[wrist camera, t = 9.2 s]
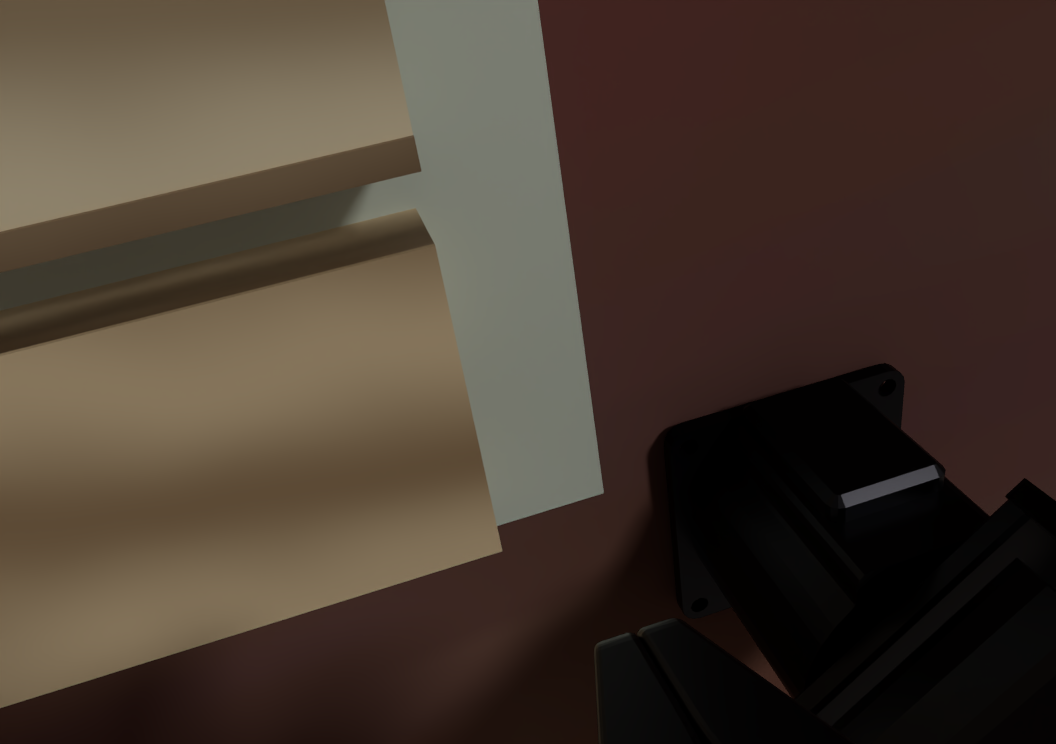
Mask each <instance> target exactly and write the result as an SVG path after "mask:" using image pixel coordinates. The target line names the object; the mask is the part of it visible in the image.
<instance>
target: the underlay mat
mask: <svg viewBox="0 0 1056 744" xmlns="http://www.w3.org/2000/svg"><path fill="white" fill-rule="evenodd" d="M385 5H386V9H387V14H388V19H389V23H390V28H391V33H392V37H393V42H394V47H395V52H396V56H397V61H398V66H399V70H400V75H401V80H402V84H403V89H404V94H405V98H406V103H407V108H408V112H409V117H410V122H411V127H412V131H413V135H414V138H415V143H416V147H417V152H418V157H419V161H420V166H421V172H417V173H413V174H409V175H405V176H400V177H396V178H392V179H388V180H384V181H380V182H376V183H371V184H367V185H363V186H359V187H355V188H351V189H346V190H342V191H338V192H334V193H330V194H326V195H321V196H317V197H313V198H309V199H305V200H301V201H297V202H292V203H288V204H284V205H280V206H276V207H272V208H267V209H263V210H259V211H255V212H251V213H247V214H242V215H238V216H234V217H230V218H226V219H222V220H218V221H213V222H209V223H205V224H201V225H197V226H193V227H188V228H184V229H180V230H176V231H172V232H168V233H164V234H159V235H155V236H151V237H147V238H143V239H139V240H134V241H130V242H126V243H122V244H118V245H114V246H109V247H105V248H101V249H97V250H93V251H89V252H85V253H80V254H76V255H72V256H68V257H64V258H60V259H55V260H51V261H47V262H43V263H39V264H35V265H31V266H26V267H22V268H18V269H14V270H10V271H6V272H1V273H0V311H1V310H5V309H9V308H13V307H17V306H21V305H25V304H29V303H33V302H37V301H41V300H45V299H49V298H53V297H57V296H61V295H65V294H70V293H74V292H78V291H82V290H86V289H90V288H94V287H98V286H102V285H106V284H110V283H114V282H118V281H122V280H126V279H130V278H134V277H138V276H142V275H146V274H151V273H155V272H159V271H163V270H167V269H171V268H175V267H179V266H183V265H187V264H191V263H195V262H199V261H203V260H207V259H211V258H215V257H219V256H223V255H228V254H232V253H236V252H240V251H244V250H248V249H252V248H256V247H260V246H264V245H268V244H272V243H276V242H280V241H284V240H288V239H292V238H296V237H300V236H304V235H309V234H313V233H317V232H321V231H325V230H329V229H333V228H337V227H341V226H345V225H349V224H353V223H357V222H361V221H365V220H369V219H373V218H377V217H381V216H386V215H390V214H394V213H398V212H402V211H406V210H410V209H414V208H416V210H417V212H418V213H419V215H420V217H421V219H422V221H423V223H424V225H425V227H426V229H427V231H428V233H429V234H430V236H431V238H432V240H433V242H434V244H435V246H436V251H437V255H438V260H439V265H440V269H441V274H442V278H443V283H444V287H445V292H446V296H447V301H448V306H449V310H450V315H451V319H452V324H453V328H454V333H455V337H456V342H457V347H458V351H459V356H460V360H461V365H462V369H463V374H464V379H465V383H466V388H467V392H468V397H469V401H470V406H471V410H472V415H473V420H474V424H475V429H476V433H477V438H478V442H479V447H480V451H481V456H482V461H483V465H484V470H485V474H486V479H487V483H488V488H489V493H490V497H491V502H492V506H493V511H494V515H495V520H496V524H497V526H498V525H502V524H505V523H508V522H511V521H515V520H518V519H521V518H524V517H528V516H531V515H534V514H537V513H541V512H544V511H547V510H550V509H554V508H557V507H560V506H563V505H567V504H570V503H573V502H576V501H580V500H583V499H586V498H589V497H593V496H596V495H599V494H602V493H604V491H603V484H602V476H601V469H600V462H599V454H598V447H597V439H596V432H595V424H594V417H593V409H592V402H591V395H590V387H589V380H588V372H587V365H586V357H585V350H584V342H583V335H582V328H581V320H580V313H579V305H578V298H577V290H576V283H575V275H574V268H573V261H572V253H571V246H570V238H569V231H568V223H567V216H566V208H565V201H564V194H563V186H562V179H561V171H560V164H559V156H558V149H557V141H556V134H555V127H554V119H553V112H552V104H551V97H550V89H549V82H548V74H547V67H546V60H545V52H544V45H543V37H542V30H541V22H540V15H539V7H538V0H385Z"/></svg>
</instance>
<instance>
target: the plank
mask: <svg viewBox="0 0 1056 744" xmlns="http://www.w3.org/2000/svg"><path fill="white" fill-rule="evenodd" d="M417 172H421V166H420V161H419V157H418V152H417V147H416V143H415V138H414V135H413V131H412V127H411V122H410V117H409V112H408V108H407V103H406V98H405V94H404V89H403V84H402V80H401V75H400V70H399V66H398V61H397V56H396V52H395V47H394V42H393V37H392V33H391V28H390V23H389V19H388V14H387V9H386V5H385V0H0V273H1V272H6V271H10V270H14V269H18V268H22V267H26V266H31V265H35V264H39V263H43V262H47V261H51V260H55V259H60V258H64V257H68V256H72V255H76V254H80V253H85V252H89V251H93V250H97V249H101V248H105V247H109V246H114V245H118V244H122V243H126V242H130V241H134V240H139V239H143V238H147V237H151V236H155V235H159V234H164V233H168V232H172V231H176V230H180V229H184V228H188V227H193V226H197V225H201V224H205V223H209V222H213V221H218V220H222V219H226V218H230V217H234V216H238V215H242V214H247V213H251V212H255V211H259V210H263V209H267V208H272V207H276V206H280V205H284V204H288V203H292V202H297V201H301V200H305V199H309V198H313V197H317V196H321V195H326V194H330V193H334V192H338V191H342V190H346V189H351V188H355V187H359V186H363V185H367V184H371V183H376V182H380V181H384V180H388V179H392V178H396V177H400V176H405V175H409V174H413V173H417Z"/></svg>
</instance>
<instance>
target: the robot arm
mask: <svg viewBox="0 0 1056 744" xmlns="http://www.w3.org/2000/svg"><path fill="white" fill-rule="evenodd" d="M884 381H886V382H885V383H884V384H883V386H881V387H880V385H881V384H882V383H883V382H884ZM904 383H905V382H904V376H903V375H902V374H901V373H900V372H899V371H898V370H896V369H895V368H894V367H893V366H891V365H889V364H886V363H884V364H878V365H874V366H871V367H868V368H864V369H861V370H858V371H854V372H851V373H848V374H844V375H841V376H838V377H834V378H831V379H828V380H824V381H821V382H817V383H814V384H811V385H807V386H804V387H801V388H797V389H794V390H791V391H787V392H784V393H781V394H777V395H774V396H771V397H767V398H764V399H761V400H757V401H754V402H751V403H747V404H744V405H741V406H737V407H734V408H731V409H727V410H724V411H721V412H717V413H714V414H711V415H707V416H704V417H700V418H697V419H694V420H690V421H687V422H684V423H681V424H679V425H676V426H674V427H673V428H672V429H671V430H670V431H669V432H668V433H667V435H666V437H665V439H664V454H665V466H666V477H667V489H668V500H669V512H670V523H671V535H672V547H673V558H674V570H675V581H676V593H677V601H678V604H679V606H680V608H681V609H682V611H683V613H684V615H686V616H687V617H688V618H693V619H695V618H701V617H704V616H707V615H710V614H713V613H715V612H718V611H721V610H724V609H727V608H730V607H732V608H733V610H734V611H735V613H736V614H737V616H738V617H739V619H740V620H741V622H742V623H743V625H744V626H745V628H746V629H747V631H748V632H749V634H750V635H751V637H752V638H753V640H754V641H755V643H756V644H757V646H758V647H759V649H760V650H761V652H762V653H763V655H764V656H765V658H766V659H767V661H768V662H769V664H770V665H771V667H772V669H773V670H774V672H775V673H776V675H777V676H778V678H779V679H780V681H781V682H782V684H783V685H784V687H785V688H786V690H787V691H788V693H789V694H790V696H791V697H792V698H791V697H790V696H788V695H787V694H785V693H784V692H782V691H781V690H780V689H778V688H777V687H775V686H774V685H773V684H771V683H770V682H768V681H767V680H766V679H764V678H763V677H761V676H760V675H759V674H757V673H756V672H754V671H753V670H752V669H750V668H749V667H747V666H746V665H745V664H743V663H742V662H740V661H739V660H738V659H736V658H735V657H733V656H732V655H731V654H729V653H728V652H726V651H725V650H723V649H722V648H721V647H719V646H718V645H716V644H715V643H714V642H712V641H711V640H709V639H708V638H707V637H705V636H704V635H702V634H701V633H700V632H698V631H697V630H695V629H694V628H693V627H691V626H690V625H688V624H687V623H686V622H684V621H682V620H680V619H676V618H671V619H667V620H664V621H661V622H658V623H655V624H652V625H649V626H646V627H643V628H641V629H640V630H639V631H638V632H637V636H636V635H635V634H634V633H625V634H622V635H619V636H616V637H613V638H610V639H607V640H604V641H601V642H599V643H597V644H596V645H595V648H594V665H595V684H596V704H597V723H598V743H599V744H1056V501H1055V500H1054V499H1052V498H1051V497H1050V496H1048V495H1047V494H1046V493H1044V492H1043V491H1041V490H1040V489H1039V488H1037V487H1036V486H1035V485H1033V484H1032V483H1031V482H1029V481H1028V480H1027V479H1025V478H1024V479H1023V480H1022V481H1021V482H1020V483H1019V484H1018V485H1017V486H1015V487H1014V488H1013V489H1012V490H1011V491H1010V492H1009V493H1008V494H1007V495H1006V496H1005V497H1006V498H1007V499H1008V500H1007V501H1006V502H1005V503H1004V504H1003V505H1002V506H1001V507H1000V508H999V509H998V510H997V511H995V512H994V513H993V514H992V515H991V516H989V515H988V514H987V513H985V512H984V511H983V510H982V509H981V508H980V507H979V506H978V505H976V504H975V503H974V502H973V501H972V500H971V499H970V498H969V497H967V496H966V495H965V494H964V493H963V492H962V491H961V490H959V489H958V488H957V487H956V486H955V485H954V484H953V483H952V482H950V481H949V480H948V479H947V478H946V477H945V468H944V467H943V465H941V464H940V463H939V462H938V461H937V460H936V459H935V458H933V457H932V456H931V455H930V454H929V453H928V452H927V451H925V450H924V449H923V448H922V447H921V446H920V445H919V444H917V443H916V442H915V441H914V440H913V439H912V438H910V437H909V436H908V435H907V434H906V433H905V432H904V431H902V430H901V420H902V407H903V395H904ZM687 440H691V441H690V443H689V444H688V445H687V446H685V447H683V448H680V446H681V445H682V444H683V443H684V442H685V441H687ZM697 599H698V600H697ZM695 600H696V601H695Z"/></svg>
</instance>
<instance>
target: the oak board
mask: <svg viewBox="0 0 1056 744" xmlns="http://www.w3.org/2000/svg"><path fill="white" fill-rule="evenodd" d="M501 551H502V547H501V543H500V538H499V534H498V529H497V524H496V520H495V515H494V511H493V506H492V502H491V497H490V493H489V488H488V483H487V479H486V474H485V470H484V465H483V461H482V456H481V451H480V447H479V442H478V438H477V433H476V429H475V424H474V420H473V415H472V410H471V406H470V401H469V397H468V392H467V388H466V383H465V379H464V374H463V369H462V365H461V360H460V356H459V351H458V347H457V342H456V337H455V333H454V328H453V324H452V319H451V315H450V310H449V306H448V301H447V296H446V292H445V287H444V283H443V278H442V274H441V269H440V265H439V260H438V255H437V251H436V246H435V244H434V242H433V240H432V238H431V236H430V234H429V233H428V231H427V229H426V227H425V225H424V223H423V221H422V219H421V217H420V215H419V213H418V212H417V210H416V208H414V209H410V210H406V211H402V212H398V213H394V214H390V215H386V216H381V217H377V218H373V219H369V220H365V221H361V222H357V223H353V224H349V225H345V226H341V227H337V228H333V229H329V230H325V231H321V232H317V233H313V234H309V235H304V236H300V237H296V238H292V239H288V240H284V241H280V242H276V243H272V244H268V245H264V246H260V247H256V248H252V249H248V250H244V251H240V252H236V253H232V254H228V255H223V256H219V257H215V258H211V259H207V260H203V261H199V262H195V263H191V264H187V265H183V266H179V267H175V268H171V269H167V270H163V271H159V272H155V273H151V274H146V275H142V276H138V277H134V278H130V279H126V280H122V281H118V282H114V283H110V284H106V285H102V286H98V287H94V288H90V289H86V290H82V291H78V292H74V293H70V294H65V295H61V296H57V297H53V298H49V299H45V300H41V301H37V302H33V303H29V304H25V305H21V306H17V307H13V308H9V309H5V310H1V311H0V708H2V707H5V706H9V705H12V704H15V703H18V702H21V701H25V700H28V699H31V698H34V697H37V696H41V695H44V694H47V693H50V692H53V691H57V690H60V689H63V688H66V687H69V686H73V685H76V684H79V683H82V682H85V681H89V680H92V679H95V678H98V677H101V676H105V675H108V674H111V673H114V672H117V671H121V670H124V669H127V668H130V667H133V666H137V665H140V664H143V663H146V662H149V661H153V660H156V659H159V658H162V657H165V656H169V655H172V654H175V653H178V652H181V651H185V650H188V649H191V648H194V647H197V646H201V645H204V644H207V643H210V642H213V641H217V640H220V639H223V638H226V637H229V636H233V635H236V634H239V633H242V632H245V631H249V630H252V629H255V628H258V627H261V626H265V625H268V624H271V623H274V622H277V621H281V620H284V619H287V618H290V617H293V616H296V615H300V614H303V613H306V612H309V611H312V610H316V609H319V608H322V607H325V606H328V605H332V604H335V603H338V602H341V601H344V600H348V599H351V598H354V597H357V596H360V595H364V594H367V593H370V592H373V591H376V590H380V589H383V588H386V587H389V586H392V585H396V584H399V583H402V582H405V581H408V580H412V579H415V578H418V577H421V576H424V575H428V574H431V573H434V572H437V571H440V570H444V569H447V568H450V567H453V566H456V565H460V564H463V563H466V562H469V561H472V560H476V559H479V558H482V557H485V556H488V555H492V554H495V553H498V552H501Z"/></svg>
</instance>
